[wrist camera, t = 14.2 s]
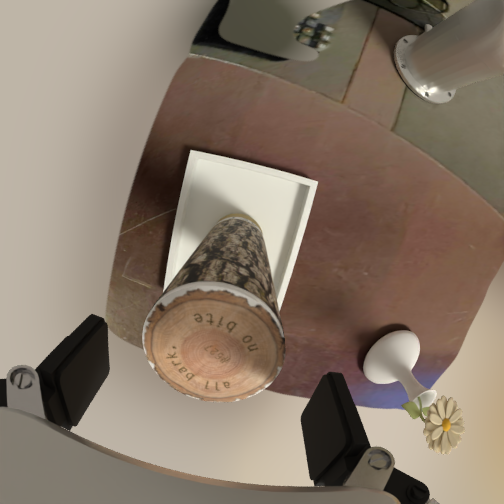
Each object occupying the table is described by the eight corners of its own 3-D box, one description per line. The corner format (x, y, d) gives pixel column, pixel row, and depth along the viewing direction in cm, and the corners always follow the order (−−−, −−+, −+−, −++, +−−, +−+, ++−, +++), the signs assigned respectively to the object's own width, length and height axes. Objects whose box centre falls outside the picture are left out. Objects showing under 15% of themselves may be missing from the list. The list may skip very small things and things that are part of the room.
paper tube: (237, 273, 37) (217, 418, 13) (201, 238, 36) (117, 343, 12) (274, 238, 36) (315, 353, 12) (237, 201, 35) (206, 251, 11)
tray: (194, 151, 34) (190, 150, 31) (313, 181, 35) (318, 181, 32) (167, 291, 39) (162, 298, 36) (273, 316, 40) (274, 325, 37)
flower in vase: (424, 342, 42) (496, 429, 18) (382, 384, 44) (433, 482, 20) (389, 309, 40) (478, 412, 16) (341, 358, 42) (393, 480, 18)
